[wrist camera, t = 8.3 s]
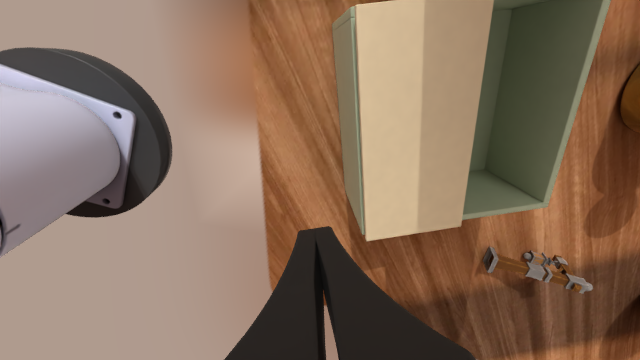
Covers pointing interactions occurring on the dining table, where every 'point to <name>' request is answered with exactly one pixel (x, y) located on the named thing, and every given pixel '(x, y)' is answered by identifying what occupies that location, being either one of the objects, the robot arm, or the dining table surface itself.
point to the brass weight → (632, 101)
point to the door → (418, 110)
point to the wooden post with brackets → (537, 269)
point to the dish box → (500, 102)
